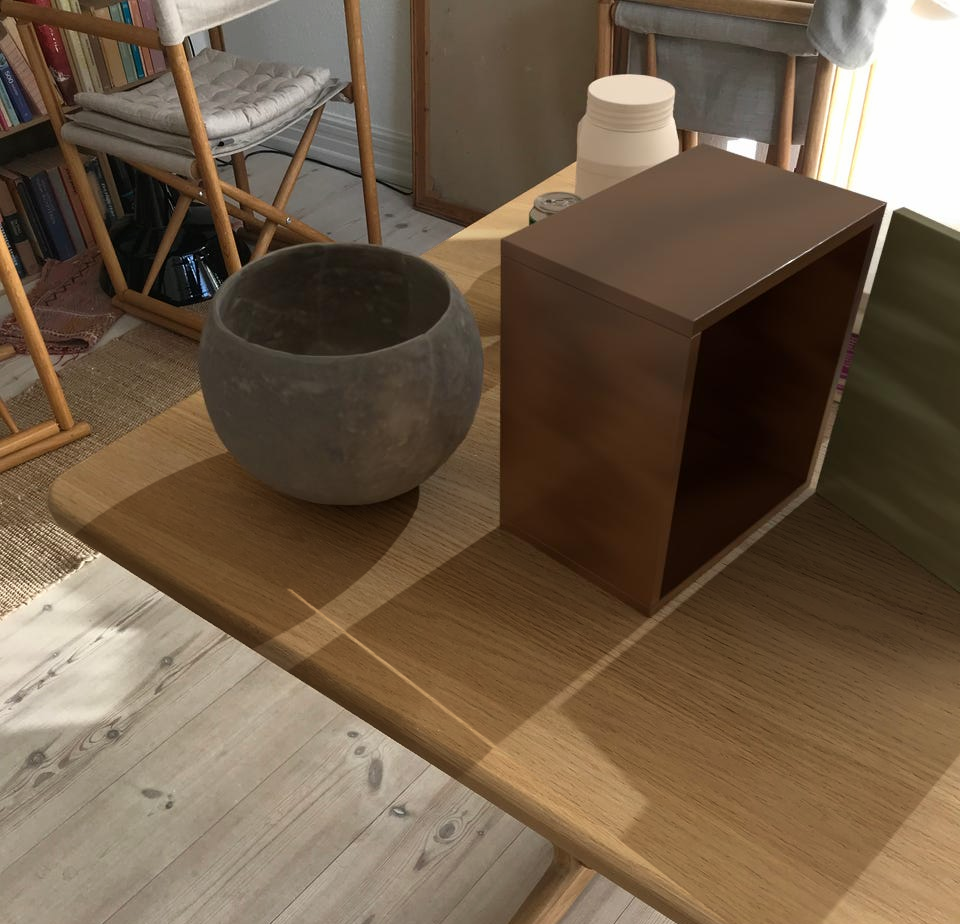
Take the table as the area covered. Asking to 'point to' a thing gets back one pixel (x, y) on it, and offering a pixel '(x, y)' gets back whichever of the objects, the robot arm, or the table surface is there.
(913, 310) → the door
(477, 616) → the table surface
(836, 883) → the table surface
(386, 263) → the bowl
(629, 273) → the cupboard
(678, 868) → the table surface
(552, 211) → the soda can
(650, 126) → the jar
